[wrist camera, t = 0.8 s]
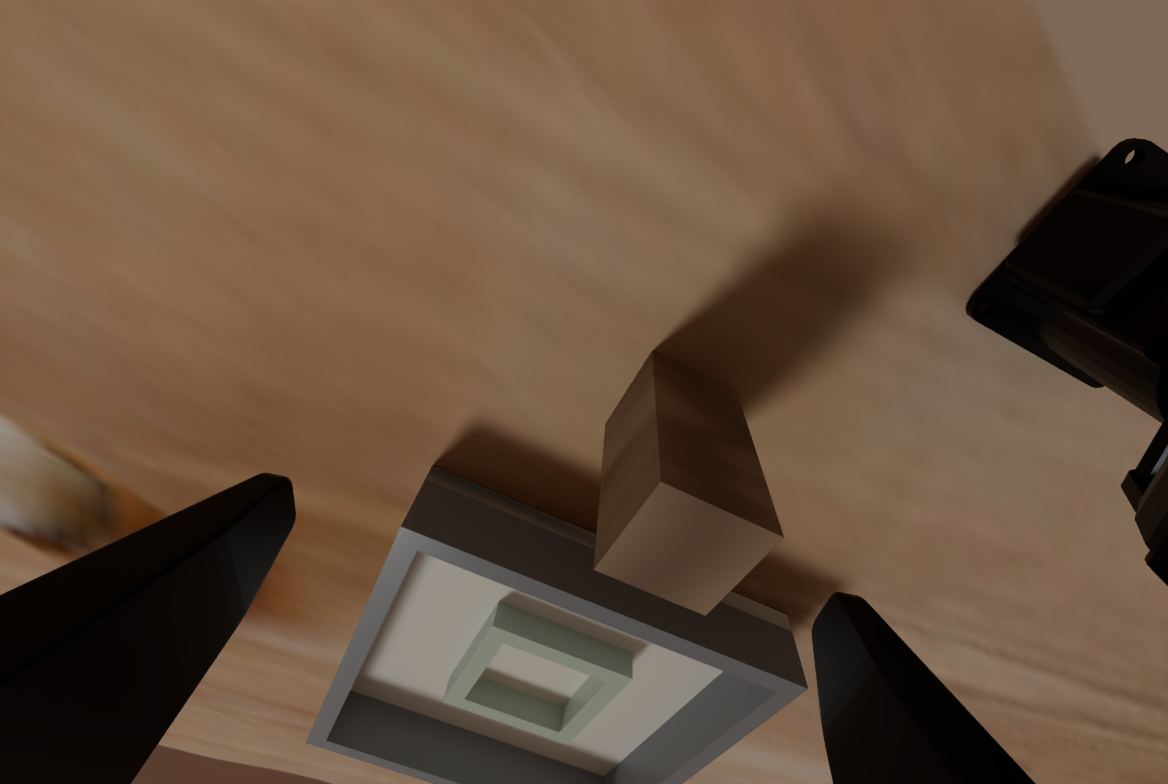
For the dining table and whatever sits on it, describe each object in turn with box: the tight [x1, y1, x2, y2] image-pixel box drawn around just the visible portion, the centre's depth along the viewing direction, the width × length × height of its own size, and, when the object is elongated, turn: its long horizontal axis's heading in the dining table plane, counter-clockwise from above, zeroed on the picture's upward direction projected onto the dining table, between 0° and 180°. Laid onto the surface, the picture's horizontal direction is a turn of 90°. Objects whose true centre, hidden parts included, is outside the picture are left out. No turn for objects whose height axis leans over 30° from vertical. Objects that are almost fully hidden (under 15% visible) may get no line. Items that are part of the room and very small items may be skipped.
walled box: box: [306, 465, 808, 784], centre depth 30 cm, size 20×20×4 cm
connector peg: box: [594, 351, 784, 616], centre depth 19 cm, size 4×4×8 cm
